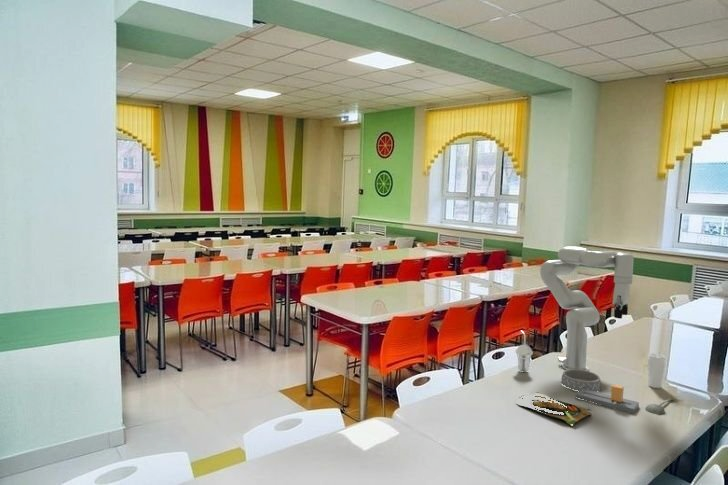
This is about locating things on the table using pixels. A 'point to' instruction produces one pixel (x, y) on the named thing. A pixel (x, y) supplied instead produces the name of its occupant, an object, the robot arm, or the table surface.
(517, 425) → the table surface
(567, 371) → the dog bowl
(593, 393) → the fader console
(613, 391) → the fader knob
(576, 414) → the prepared meal
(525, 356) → the cup with straw
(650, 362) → the drinking glass
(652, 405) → the soupspoon
